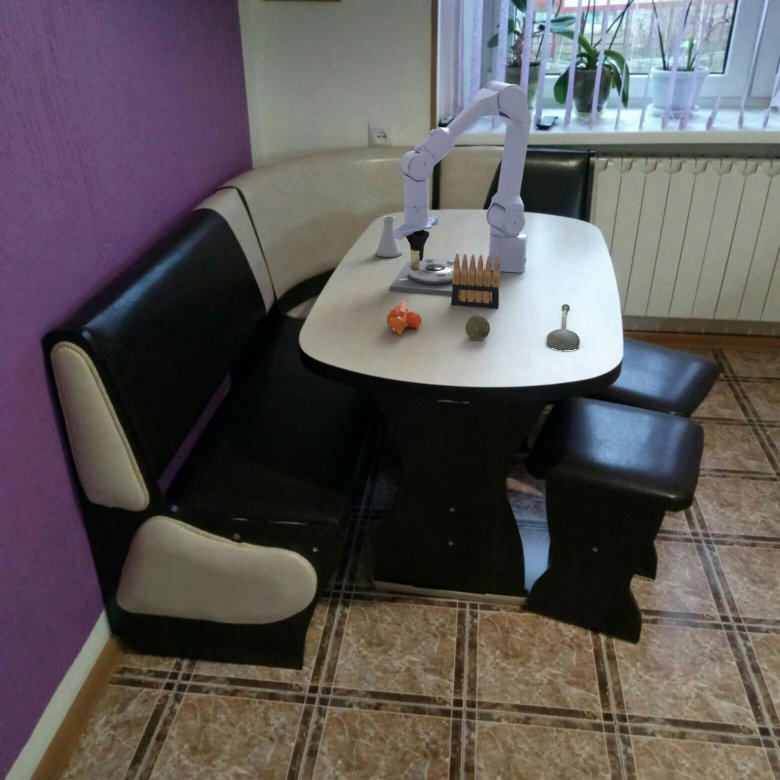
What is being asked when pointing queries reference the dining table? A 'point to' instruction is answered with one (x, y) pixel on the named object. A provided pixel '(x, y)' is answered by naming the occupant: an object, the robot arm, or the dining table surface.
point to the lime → (477, 327)
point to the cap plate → (420, 284)
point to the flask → (388, 240)
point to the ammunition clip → (476, 284)
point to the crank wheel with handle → (431, 269)
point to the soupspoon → (563, 336)
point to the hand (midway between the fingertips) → (416, 260)
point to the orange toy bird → (402, 318)
